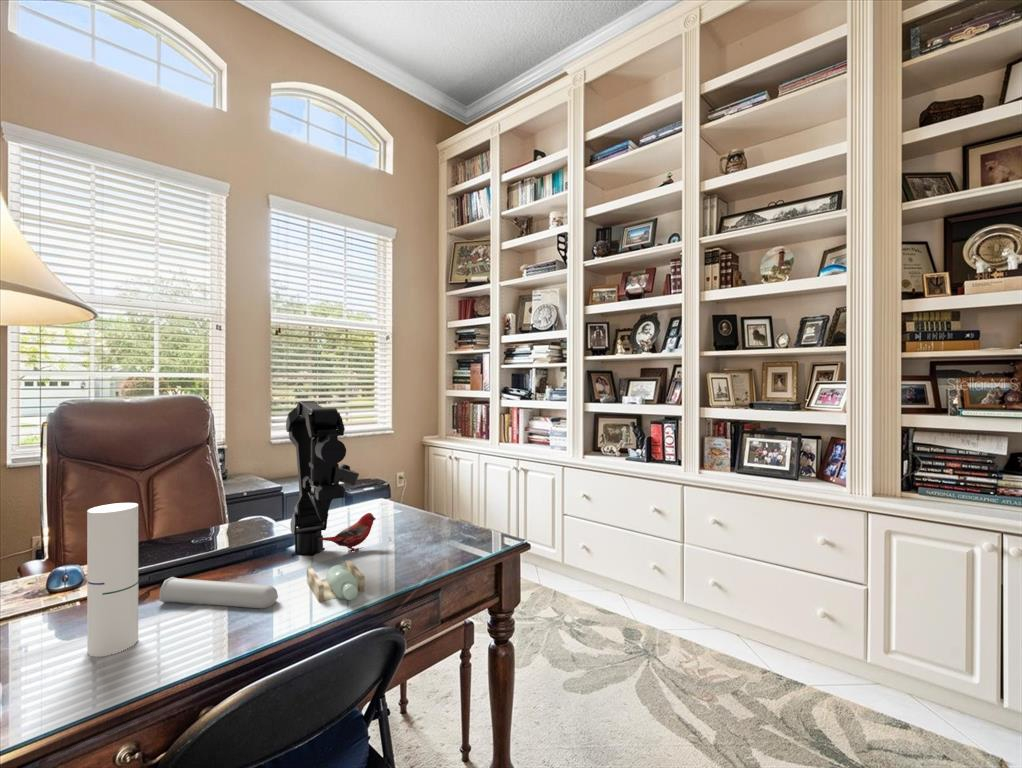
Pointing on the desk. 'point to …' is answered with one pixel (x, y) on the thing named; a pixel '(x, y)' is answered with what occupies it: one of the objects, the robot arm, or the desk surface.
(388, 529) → the desk surface
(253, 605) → the tube
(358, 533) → the decorative bird figurine
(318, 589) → the cradle
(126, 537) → the cylindrical container
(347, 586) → the bottle
